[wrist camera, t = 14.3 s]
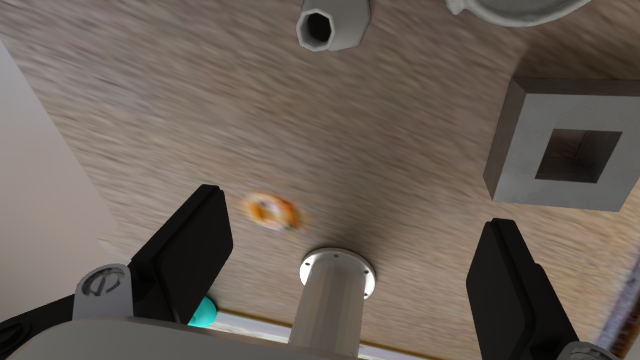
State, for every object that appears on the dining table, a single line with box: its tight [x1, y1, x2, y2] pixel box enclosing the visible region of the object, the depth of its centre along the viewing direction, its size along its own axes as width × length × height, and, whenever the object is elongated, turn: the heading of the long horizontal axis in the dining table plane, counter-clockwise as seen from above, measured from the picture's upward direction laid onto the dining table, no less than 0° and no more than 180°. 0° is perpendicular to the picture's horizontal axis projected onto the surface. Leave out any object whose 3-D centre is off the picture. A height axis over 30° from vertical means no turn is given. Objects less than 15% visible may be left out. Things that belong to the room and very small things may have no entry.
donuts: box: [188, 296, 217, 328], centre depth 64 cm, size 10×10×10 cm
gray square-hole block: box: [483, 78, 640, 212], centre depth 33 cm, size 12×12×5 cm
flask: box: [296, 0, 371, 52], centre depth 29 cm, size 7×7×10 cm
